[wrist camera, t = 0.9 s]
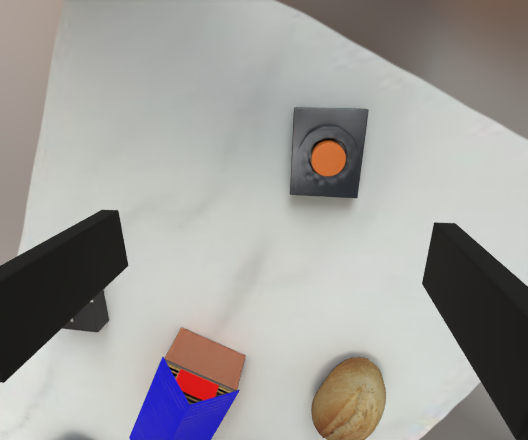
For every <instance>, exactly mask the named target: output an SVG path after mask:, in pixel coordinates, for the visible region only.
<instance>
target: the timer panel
mask: <svg viewBox="0 0 528 440" xmlns="http://www.w3.org/2000/svg"><path fill="white" fill-rule="evenodd" d="M108 321H109V318H108V313H107V308H106V303H105V298H104V293H103V290H102V291H101V292H100V293H99V294H98V295H97V296H96V297H95V298H93V299H92V300H91V301H90V302H89V303H88V304H87V305H86V306H85V307H84V308H83V309H82V310H81V311H80V312H79V313H78V314H76V315H75V316H74V317H73V318H72V319H71V320H70V321H69V322H68V323H67V324H66V325H65V326H64V327H63V329H72V330H81V331H90V332H99V331H100V330H101V329H102V327H103V326H104V325H105V324H106V323H107V322H108Z"/></svg>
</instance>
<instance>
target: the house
mask: <svg viewBox="0 0 528 440" xmlns="http://www.w3.org/2000/svg"><path fill="white" fill-rule="evenodd" d="M244 359H245V355H243V354H241V353H239V352H236V351H234V350H232V349H229V348H227V347H225V346H223V345H220V344H218V343H216V342H214V341H211V340H209V339H207V338H204V337H202V336H200V335H198V334H195V333H193V332H191V331H189V330H186V329H184V328H182V327H181V329H180V331H179V333H178V335H177V337H176V338H175V340H174V342H173V344H172V346H171V348H170V349H169V351H168V353H167V355H166V357H165V359H164V357H162V360H161V362H160V364H159V367H158V369H157V372H156V374H155V377H154V379H153V381H152V384H151V386H150V389H149V391H148V394H147V396H146V398H145V401H144V403H143V406H142V408H141V411H140V413H139V415H138V418H137V420H136V423H135V425H134V427H133V430H132V432H131V435H130V437H129V438H130V440H211V439H212V437H213V435H214V433H215V432H216V430H217V428H218V427H219V425H220V423H221V421H222V420H223V418H224V416H225V415H226V413H227V411H228V409H229V408H230V406H231V404H232V403H233V401H234V399H235V397H236V396H237V394H238V392H239V391H240V390H238V391H237V388H238V384H239V380H240V376H241V372H242V368H243V363H244ZM171 365H172V366H171ZM173 366H174V367H173ZM169 367H171V368H173V369H175V370H177V371H179V372H178V373H177V372H175V371H172V370H170V368H169ZM175 367H176V368H175ZM178 368H179V369H178ZM180 369H181V370H180ZM172 373H174V374H177V376H174V375H173V374H172ZM219 386H220V387H219ZM221 387H222V388H221ZM218 388H219V389H221V390H223V392H221V391H218ZM182 391H183V392H182ZM184 392H185V393H184ZM217 392H218V393H220V394H221V396H220V395H218V394H217ZM186 393H188V394H186ZM189 394H190V395H189ZM185 395H186V396H185ZM191 395H192V396H191ZM187 396H188V397H187ZM193 396H195V397H193ZM216 396H217V397H216ZM186 397H187V398H186ZM190 397H191V398H190ZM196 397H197V398H196ZM192 398H193V399H192ZM198 398H199V399H198ZM194 399H195V400H194ZM200 399H201V400H200ZM187 400H188V401H187ZM193 400H194V401H193ZM197 400H198V401H197ZM203 400H204V401H203ZM189 401H191V402H193V403H194V404H193V403H191V402H189ZM195 401H196V402H195ZM199 401H200V402H199Z"/></svg>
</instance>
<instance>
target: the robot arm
mask: <svg viewBox="0 0 528 440" xmlns="http://www.w3.org/2000/svg"><path fill="white" fill-rule="evenodd" d="M126 267H128V261H127V256H126V250H125V245H124V239H123V234H122V228H121V223H120V217H119V212H118V210H101V211H99V212H97V213H95V214H94V215H92V216H90V217H88V218H86V219H85V220H83V221H81V222H79V223H77V224H75V225H74V226H72V227H70V228H68V229H66V230H65V231H63V232H61V233H59V234H57V235H55V236H54V237H52V238H50V239H48V240H46V241H45V242H43V243H41V244H39V245H37V246H35V247H34V248H32V249H30V250H28V251H26V252H25V253H23V254H21V255H19V256H17V257H15V258H14V259H12V260H10V261H8V262H6V263H5V264H3V265H1V266H0V382H3V383H4V382H5V381H6V380H7V379H8V378H9V377H10V376H12V375H13V374H14V373H15V372H16V371H17V370H18V369H19V368H20V367H21V366H22V365H23V364H24V363H25V362H26V361H27V360H29V359H30V358H31V357H32V356H33V355H34V354H35V353H36V352H37V351H38V350H39V349H40V348H41V347H42V346H43V345H45V344H46V343H47V342H48V341H49V340H50V339H51V338H52V337H53V336H54V335H55V334H56V333H57V332H58V331H59V330H60V329H62V328H63V327H64V326H65V325H66V324H67V323H68V322H69V321H70V320H71V319H72V318H73V317H74V316H75V315H76V314H78V313H79V312H80V311H81V310H82V309H83V308H84V307H85V306H86V305H87V304H88V303H89V302H90V301H91V300H92V299H93V298H95V297H96V296H97V295H98V294H99V293H100V292H101V291H102V290H103V289H104V288H105V287H106V286H107V285H108V284H109V283H111V282H112V281H113V280H114V279H115V278H116V277H117V276H118V275H119V274H120V273H121V272H122V271H123V270H124V269H125V268H126ZM422 284H423V286H424V288H425V289H426V291H427V293H428V294H429V296H430V298H431V299H432V301H433V303H434V304H435V306H436V308H437V309H438V311H439V313H440V314H441V316H442V318H443V319H444V321H445V323H446V324H447V326H448V328H449V329H450V331H451V333H452V334H453V336H454V338H455V339H456V341H457V343H458V344H459V346H460V348H461V349H462V351H463V352H464V354H465V356H466V357H467V359H468V361H469V362H470V364H471V366H472V367H473V369H474V371H475V372H476V374H477V376H478V377H479V379H480V381H481V382H482V384H483V386H484V387H485V389H486V391H487V392H488V394H489V396H490V397H491V399H492V401H493V402H494V404H495V405H496V407H497V409H498V411H499V412H500V414H501V416H502V417H503V419H504V420H505V422H506V424H507V426H508V427H509V429H510V431H511V432H512V434H513V436H514V437H515V439H516V440H528V286H526V285H525V284H524V283H523V282H522V281H521V280H520V279H518V278H517V277H516V276H515V275H514V274H513V273H511V272H510V271H509V270H508V269H507V268H506V267H505V266H503V265H502V264H501V263H500V262H499V261H498V260H497V259H495V258H494V257H493V256H492V255H491V254H490V253H489V252H487V251H486V250H485V249H484V248H483V247H482V246H481V245H479V244H478V243H477V242H476V241H475V240H474V239H473V238H471V237H470V236H469V235H468V234H467V233H466V232H464V231H463V230H462V229H461V228H460V227H459V226H458V225H456V224H455V223H434V226H433V231H432V236H431V241H430V246H429V251H428V257H427V262H426V267H425V272H424V277H423V282H422Z"/></svg>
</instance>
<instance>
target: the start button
mask: <svg viewBox="0 0 528 440" xmlns="http://www.w3.org/2000/svg"><path fill="white" fill-rule="evenodd" d="M345 162H346V155H345V152H344V150H343V149H342V147H341V146H340V145H339V144H338V143H336V142H334V141H330V140H327V141H323V142H320V143H319V144H317V145H316V146H315V148H314V149H313V151H312V154H311V163H312V166H313V168H314V170H315V171H316V172H317V173H318V174H320V175H322V176H333V175H336V174H338V173H339V172H340V171H341V170H342V169H343V167H344V165H345Z"/></svg>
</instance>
